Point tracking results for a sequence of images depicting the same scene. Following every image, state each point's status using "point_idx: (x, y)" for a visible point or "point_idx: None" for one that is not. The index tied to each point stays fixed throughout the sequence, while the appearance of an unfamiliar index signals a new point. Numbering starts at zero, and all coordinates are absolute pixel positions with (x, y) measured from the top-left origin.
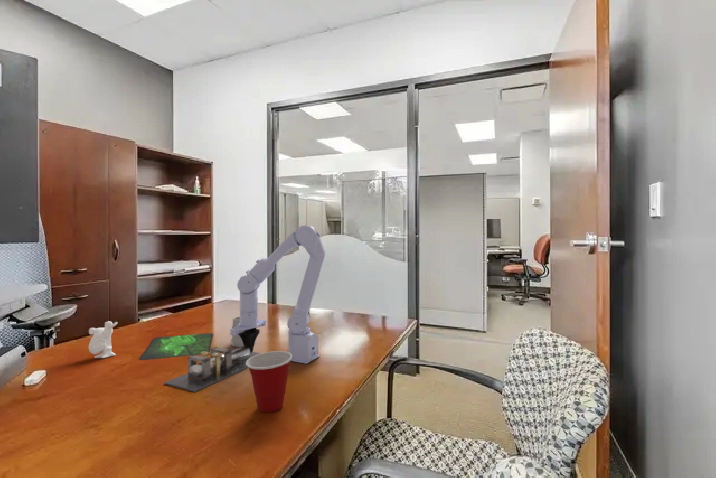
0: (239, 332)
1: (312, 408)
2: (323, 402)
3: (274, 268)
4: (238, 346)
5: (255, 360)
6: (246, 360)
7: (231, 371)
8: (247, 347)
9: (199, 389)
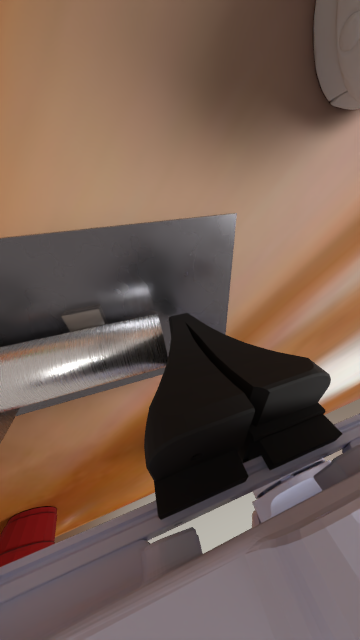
0: (81, 558)
1: (86, 514)
2: (109, 505)
3: None
4: (315, 35)
5: None
6: None
7: None
8: (161, 367)
9: None
